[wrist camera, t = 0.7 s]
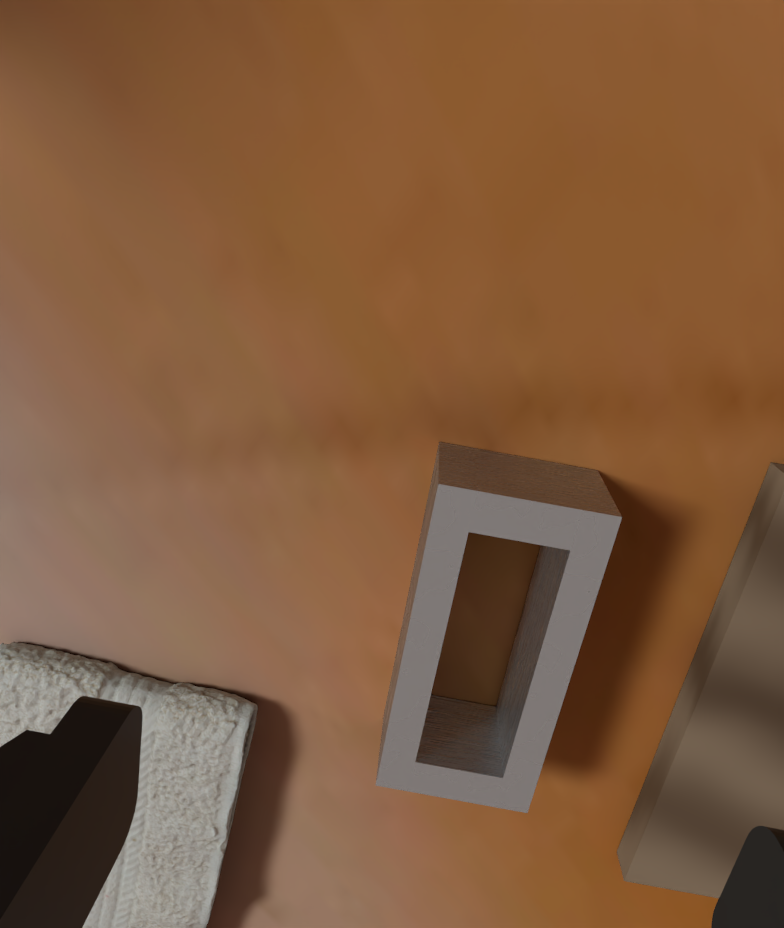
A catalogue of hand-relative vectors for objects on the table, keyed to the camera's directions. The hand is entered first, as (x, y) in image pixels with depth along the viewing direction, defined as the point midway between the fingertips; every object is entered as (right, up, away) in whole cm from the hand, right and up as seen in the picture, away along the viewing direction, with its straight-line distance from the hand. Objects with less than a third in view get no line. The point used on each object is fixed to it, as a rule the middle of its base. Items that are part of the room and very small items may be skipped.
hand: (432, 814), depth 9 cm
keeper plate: (+20, -6, +20) cm, 29 cm away
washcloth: (-14, -12, +26) cm, 32 cm away
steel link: (+3, -1, +20) cm, 20 cm away
